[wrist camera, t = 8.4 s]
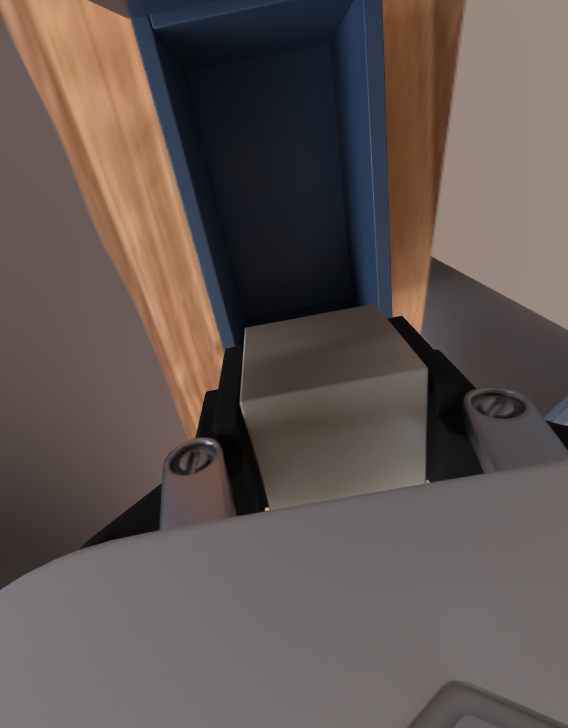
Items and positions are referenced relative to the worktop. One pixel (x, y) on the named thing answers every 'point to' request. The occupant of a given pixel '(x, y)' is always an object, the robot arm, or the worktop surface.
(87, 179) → the worktop surface
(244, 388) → the block
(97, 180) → the worktop surface
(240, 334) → the chest
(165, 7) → the lid
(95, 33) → the worktop surface
